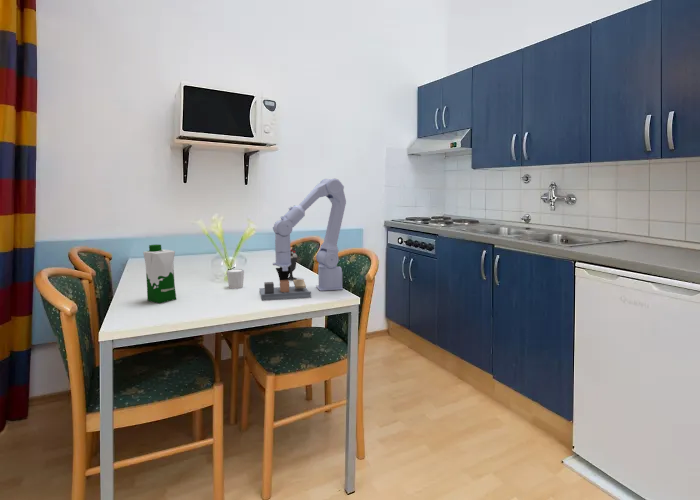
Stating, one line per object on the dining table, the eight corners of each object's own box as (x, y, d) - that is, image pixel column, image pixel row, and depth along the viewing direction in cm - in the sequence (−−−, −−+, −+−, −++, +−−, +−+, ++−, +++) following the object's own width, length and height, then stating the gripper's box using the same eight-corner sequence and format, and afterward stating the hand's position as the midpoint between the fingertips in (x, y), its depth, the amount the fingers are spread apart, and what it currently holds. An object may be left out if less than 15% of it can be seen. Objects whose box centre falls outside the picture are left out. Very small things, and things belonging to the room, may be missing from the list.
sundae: (301, 278, 195) (301, 245, 193) (292, 281, 189) (291, 247, 187) (290, 277, 198) (289, 244, 196) (280, 279, 193) (279, 246, 190)
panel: (304, 288, 175) (304, 281, 175) (310, 297, 161) (310, 290, 160) (259, 291, 171) (259, 284, 170) (261, 300, 156) (261, 293, 156)
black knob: (273, 292, 163) (272, 281, 162) (273, 294, 160) (273, 283, 159) (264, 292, 162) (264, 282, 161) (265, 294, 159) (264, 284, 158)
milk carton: (165, 295, 163) (162, 243, 160) (180, 299, 158) (177, 245, 156) (143, 301, 156) (139, 246, 153) (159, 304, 151) (155, 247, 148)
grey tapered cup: (240, 289, 174) (239, 272, 173) (224, 288, 175) (223, 271, 174) (247, 285, 181) (246, 269, 180) (232, 285, 182) (231, 268, 181)
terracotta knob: (288, 289, 167) (288, 279, 166) (289, 291, 164) (289, 281, 163) (280, 290, 166) (279, 280, 165) (280, 292, 163) (280, 281, 162)
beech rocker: (303, 281, 171) (303, 279, 171) (305, 287, 165) (305, 285, 165) (293, 281, 170) (293, 279, 170) (295, 288, 164) (295, 286, 164)
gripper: (271, 249, 172) (271, 282, 173) (273, 254, 158) (274, 290, 160) (288, 248, 173) (289, 281, 175) (293, 253, 159) (293, 289, 161)
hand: (283, 286), depth 168 cm, fingers closed
